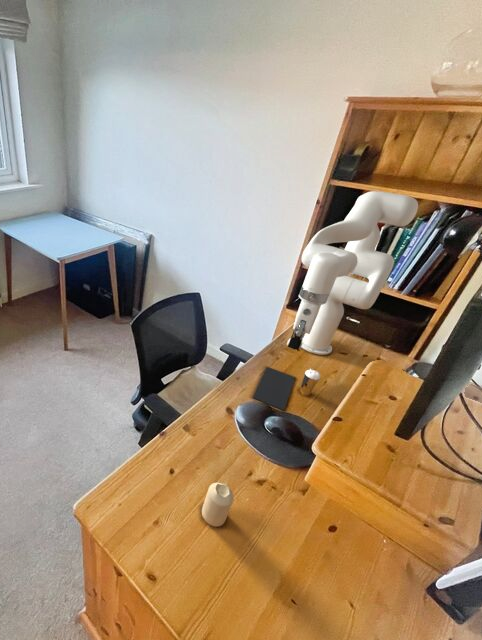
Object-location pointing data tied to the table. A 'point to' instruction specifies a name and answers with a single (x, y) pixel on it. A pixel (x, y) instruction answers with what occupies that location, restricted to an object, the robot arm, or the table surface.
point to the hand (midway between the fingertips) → (294, 344)
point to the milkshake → (309, 381)
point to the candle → (217, 504)
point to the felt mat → (274, 388)
